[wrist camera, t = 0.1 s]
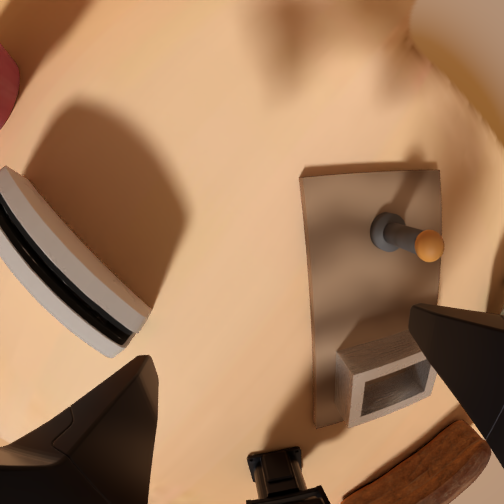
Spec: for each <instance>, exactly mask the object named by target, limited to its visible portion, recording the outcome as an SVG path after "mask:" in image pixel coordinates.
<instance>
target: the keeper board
mask: <svg viewBox="0 0 504 504" xmlns="http://www.w3.org/2000/svg"><path fill="white" fill-rule="evenodd" d="M299 182H300V191H301V200H302V210H303V220H304V230H305V241H306V253H307V265H308V279H309V294H310V310H311V329H312V354H313V393H314V425H315V427H316V429H317V428H321V427H324V426H328V425H332V424H335V423H338V422H342V421H344V420H343V418H342V417H341V415H340V413H339V411H338V409H337V407H336V406H335V404H334V401H335V377H336V351H338V350H342V349H346V348H350V347H353V346H357V345H360V344H364V343H367V342H371V341H374V340H377V339H380V338H384V337H387V336H390V335H393V334H396V333H399V332H402V331H405V330H408V323H409V314H410V308H411V306H413V305H415V304H418V303H425V304H431V305H437V299H438V290H439V279H440V265H441V255H442V254H443V251H444V241H443V239H442V204H441V183H440V170H408V171H383V172H365V173H350V174H336V175H324V176H313V177H303V178H299ZM406 368H407V367H406ZM406 368H403V369H400V370H398V371H395V372H392V373H390V374H387V375H384V376H381V377H379V378H376V379H373V380H370V381H367V382H365V386H368V385H371V384H374V383H377V382H379V381H382V380H385V379H388V378H390V377H393V376H396V375H398V374H401V373H404V372H406Z"/></svg>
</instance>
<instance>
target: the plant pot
mask: <svg viewBox="0 0 504 504" xmlns="http://www.w3.org/2000/svg"><path fill="white" fill-rule="evenodd" d="M19 83H20V74H19V69H18V66H17V64H16V63H15V61H14V60H13V59H12V58H11V57H10V55H9V54H8V53H7V51H6V50H5V49H4V47H3V46H2V45H1V44H0V129H1V128H2V126H3V125H4V124H5V122H6V120H7V119H8V117H9V115H10V113H11V111H12V109H13V106H14V104H15V101H16V98H17V95H18V90H19Z"/></svg>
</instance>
